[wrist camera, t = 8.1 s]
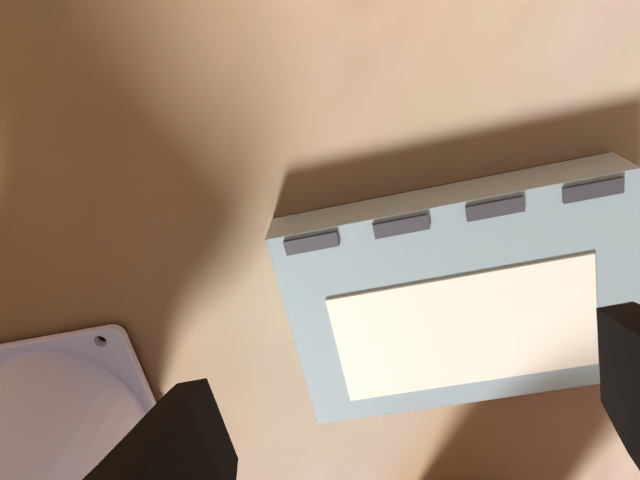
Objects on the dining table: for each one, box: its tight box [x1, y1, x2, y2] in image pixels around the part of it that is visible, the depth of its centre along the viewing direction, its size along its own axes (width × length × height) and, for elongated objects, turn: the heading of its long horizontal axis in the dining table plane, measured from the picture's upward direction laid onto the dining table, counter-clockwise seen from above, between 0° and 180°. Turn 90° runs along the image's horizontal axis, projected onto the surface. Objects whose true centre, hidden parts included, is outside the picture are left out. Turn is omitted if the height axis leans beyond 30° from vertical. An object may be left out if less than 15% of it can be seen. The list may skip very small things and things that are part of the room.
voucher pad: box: [265, 152, 640, 425], centre depth 20 cm, size 12×8×2 cm, turn 103°
